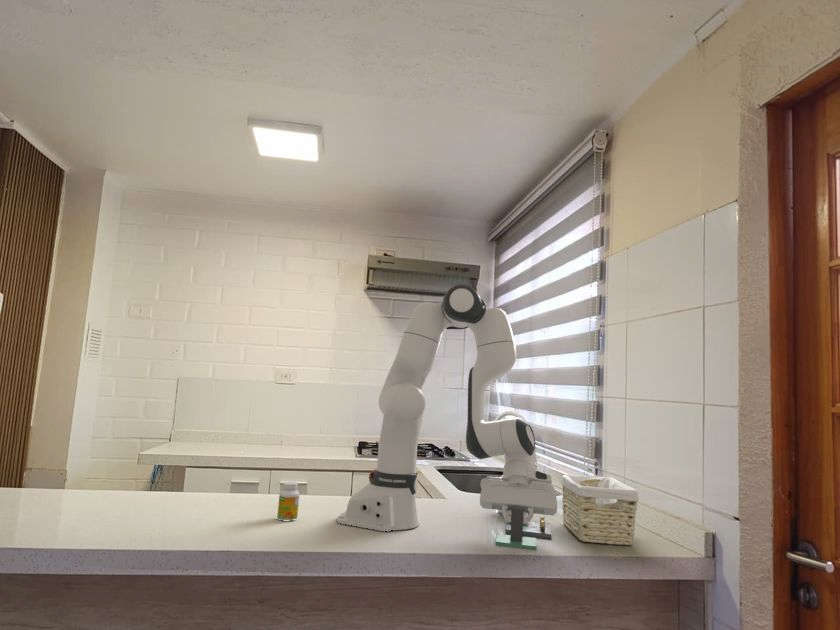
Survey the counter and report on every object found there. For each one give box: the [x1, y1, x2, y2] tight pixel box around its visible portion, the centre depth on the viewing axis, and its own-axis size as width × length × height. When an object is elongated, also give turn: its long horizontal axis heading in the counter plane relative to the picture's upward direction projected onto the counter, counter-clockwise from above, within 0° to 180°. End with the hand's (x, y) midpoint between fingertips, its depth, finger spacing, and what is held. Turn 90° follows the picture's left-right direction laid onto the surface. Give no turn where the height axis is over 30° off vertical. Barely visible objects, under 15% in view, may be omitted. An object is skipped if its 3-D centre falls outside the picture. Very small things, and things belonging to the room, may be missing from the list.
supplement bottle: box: [276, 481, 300, 521], centre depth 148 cm, size 5×5×10 cm
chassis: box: [505, 515, 552, 540], centre depth 151 cm, size 12×12×4 cm
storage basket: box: [560, 473, 640, 546], centre depth 153 cm, size 24×16×15 cm
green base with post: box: [495, 506, 538, 551], centre depth 139 cm, size 10×8×9 cm
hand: (517, 524), depth 138 cm, fingers closed on green base with post, 3 cm apart
